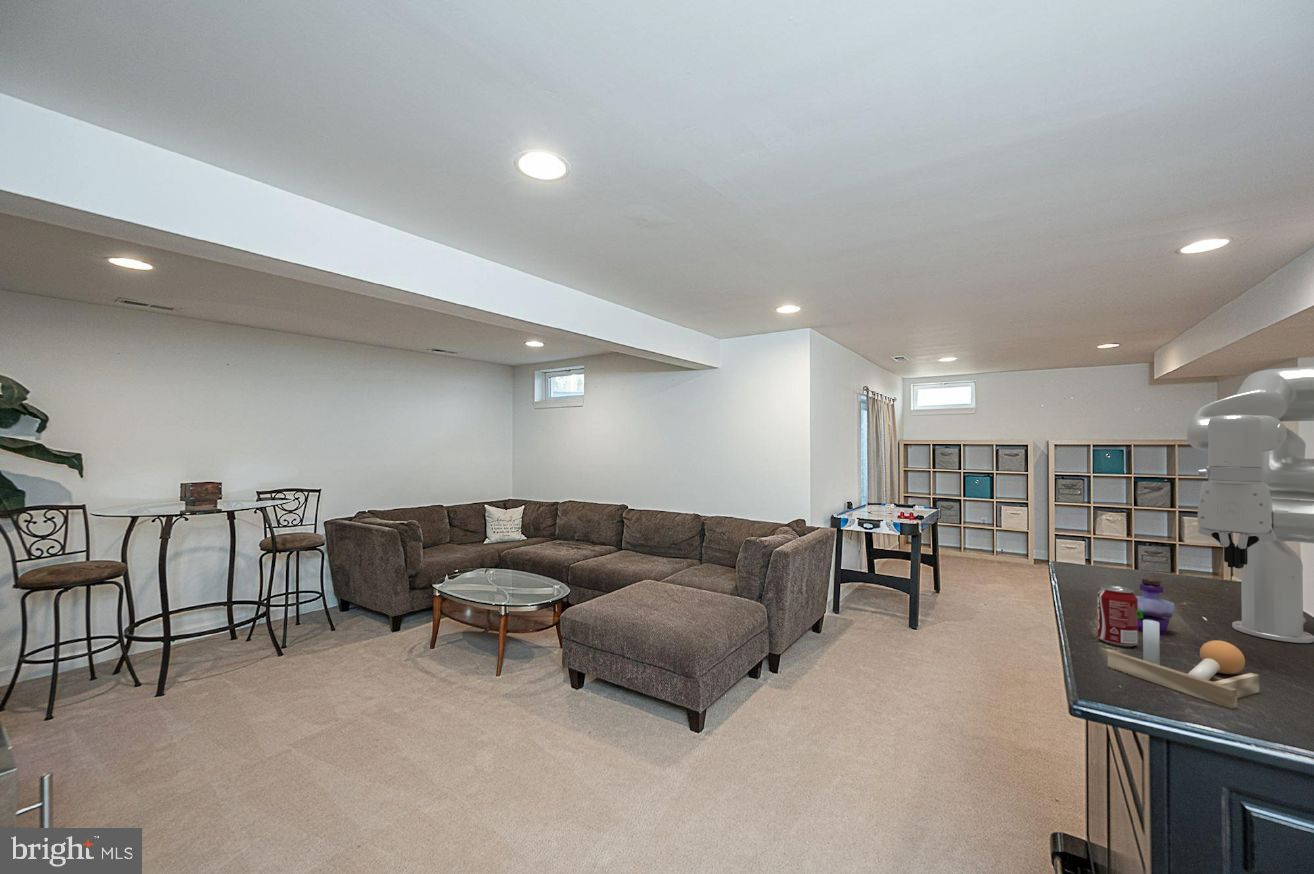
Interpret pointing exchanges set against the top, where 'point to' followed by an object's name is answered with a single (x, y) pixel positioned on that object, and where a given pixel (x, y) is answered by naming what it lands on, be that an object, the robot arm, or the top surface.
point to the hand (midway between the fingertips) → (1235, 566)
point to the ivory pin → (1205, 669)
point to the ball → (1224, 656)
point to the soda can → (1117, 616)
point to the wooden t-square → (1188, 680)
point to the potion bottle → (1153, 605)
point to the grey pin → (1151, 641)
